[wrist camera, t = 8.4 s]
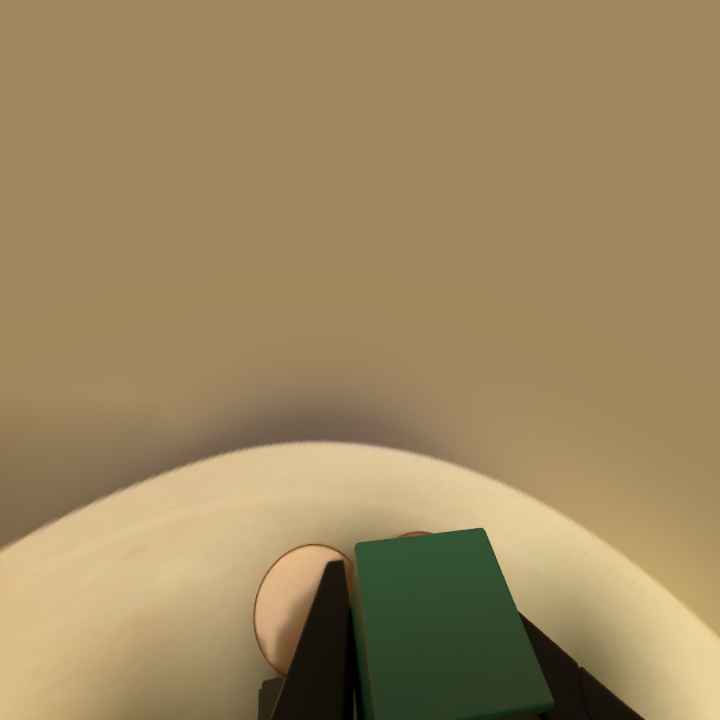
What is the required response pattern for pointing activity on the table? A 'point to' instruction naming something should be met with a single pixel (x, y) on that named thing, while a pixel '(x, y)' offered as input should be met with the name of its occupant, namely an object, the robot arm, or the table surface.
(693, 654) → the table surface
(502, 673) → the wiper
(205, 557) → the table surface
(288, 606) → the crumb
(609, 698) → the robot arm
